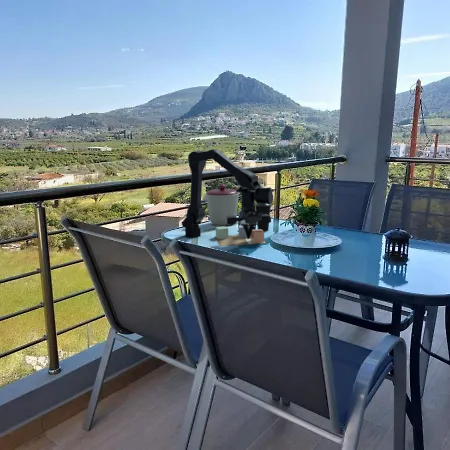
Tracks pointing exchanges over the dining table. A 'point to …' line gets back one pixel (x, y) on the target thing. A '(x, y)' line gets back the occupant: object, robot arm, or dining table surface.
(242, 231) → the slate block
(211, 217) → the canister
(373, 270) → the dining table surface
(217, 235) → the sage block
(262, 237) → the terracotta block
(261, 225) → the drinking cup
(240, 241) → the board
